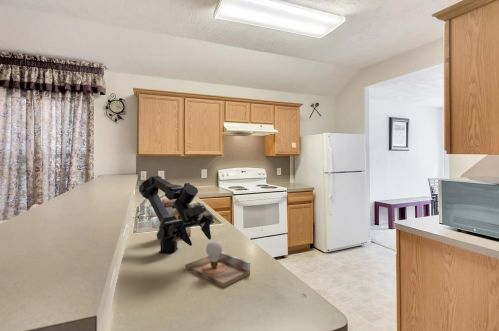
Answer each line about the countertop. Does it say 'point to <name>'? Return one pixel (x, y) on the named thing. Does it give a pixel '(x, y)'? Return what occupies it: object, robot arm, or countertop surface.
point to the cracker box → (174, 212)
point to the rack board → (221, 269)
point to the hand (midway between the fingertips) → (201, 242)
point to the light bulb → (214, 252)
